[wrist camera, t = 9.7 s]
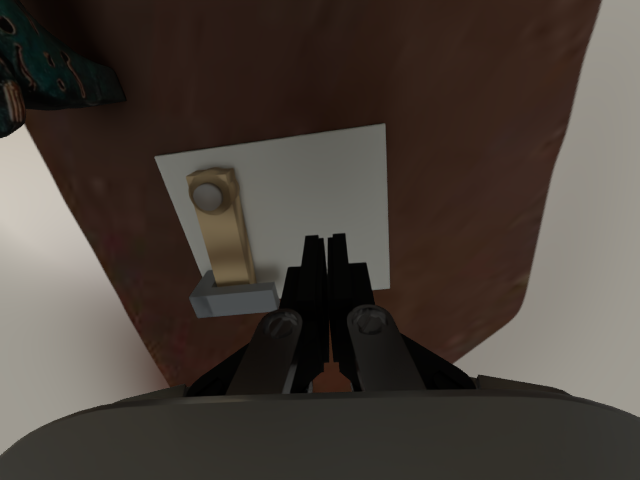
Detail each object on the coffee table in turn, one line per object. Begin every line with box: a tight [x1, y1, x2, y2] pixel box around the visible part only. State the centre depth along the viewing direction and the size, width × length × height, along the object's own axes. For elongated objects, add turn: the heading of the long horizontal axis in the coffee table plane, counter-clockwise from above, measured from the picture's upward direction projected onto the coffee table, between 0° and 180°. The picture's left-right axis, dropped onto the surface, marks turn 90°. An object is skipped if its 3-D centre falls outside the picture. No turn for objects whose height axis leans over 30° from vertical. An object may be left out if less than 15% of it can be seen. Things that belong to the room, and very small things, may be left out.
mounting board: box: [155, 123, 390, 318], centre depth 31 cm, size 20×24×6 cm
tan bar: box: [186, 167, 257, 287], centre depth 32 cm, size 17×4×4 cm, turn 4°
